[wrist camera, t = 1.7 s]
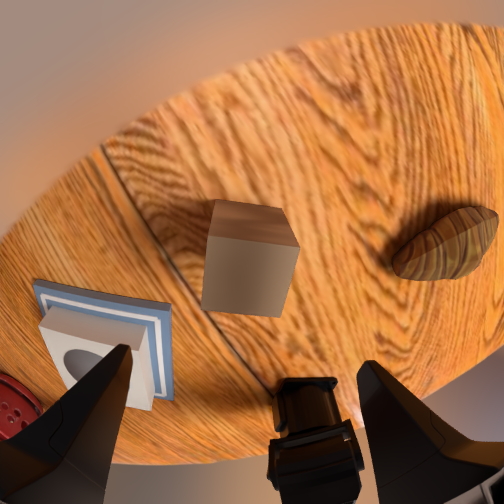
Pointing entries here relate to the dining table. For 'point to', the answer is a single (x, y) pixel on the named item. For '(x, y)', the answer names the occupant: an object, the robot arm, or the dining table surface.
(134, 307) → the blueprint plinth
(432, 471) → the robot arm
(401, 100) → the dining table surface
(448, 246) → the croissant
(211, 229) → the walnut block
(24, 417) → the plant pot
